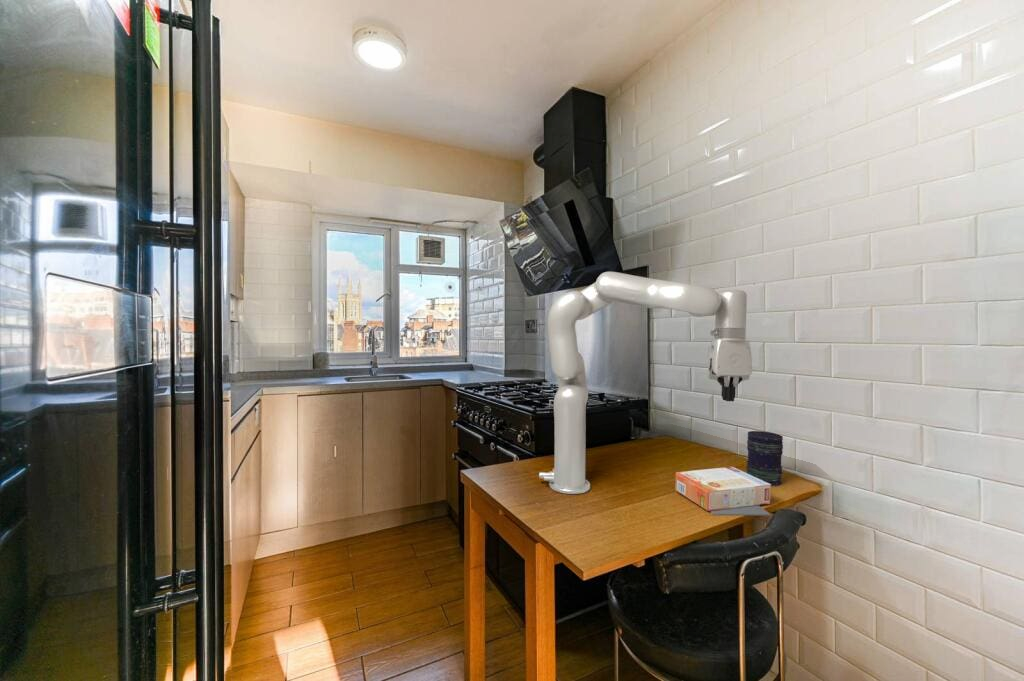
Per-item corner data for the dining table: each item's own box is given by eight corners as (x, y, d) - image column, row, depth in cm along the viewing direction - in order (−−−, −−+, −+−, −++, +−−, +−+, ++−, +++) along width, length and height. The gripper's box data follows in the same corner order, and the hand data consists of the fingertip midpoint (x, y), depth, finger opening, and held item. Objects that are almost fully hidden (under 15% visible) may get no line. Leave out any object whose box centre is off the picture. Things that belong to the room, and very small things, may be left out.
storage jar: (743, 473, 137) (744, 429, 136) (776, 477, 134) (778, 432, 133) (749, 483, 127) (751, 437, 127) (786, 488, 124) (787, 440, 124)
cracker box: (707, 513, 107) (771, 504, 112) (707, 490, 106) (772, 483, 111) (674, 491, 120) (733, 484, 125) (674, 471, 120) (733, 465, 125)
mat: (713, 514, 106) (713, 513, 106) (690, 493, 120) (690, 491, 120) (770, 515, 106) (770, 514, 106) (740, 493, 120) (740, 492, 120)
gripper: (709, 334, 108) (707, 402, 109) (765, 335, 108) (763, 403, 108) (697, 334, 115) (695, 397, 116) (749, 335, 115) (747, 398, 116)
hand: (728, 400), depth 112 cm, fingers closed
